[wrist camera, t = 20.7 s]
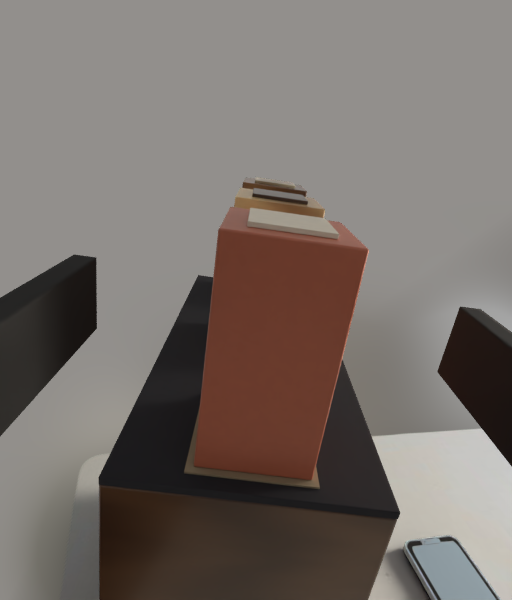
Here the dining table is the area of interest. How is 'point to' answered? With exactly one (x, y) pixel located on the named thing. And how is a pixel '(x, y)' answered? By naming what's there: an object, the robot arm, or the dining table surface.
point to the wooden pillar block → (278, 202)
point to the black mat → (231, 484)
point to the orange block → (275, 340)
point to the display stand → (233, 549)
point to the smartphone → (447, 569)
